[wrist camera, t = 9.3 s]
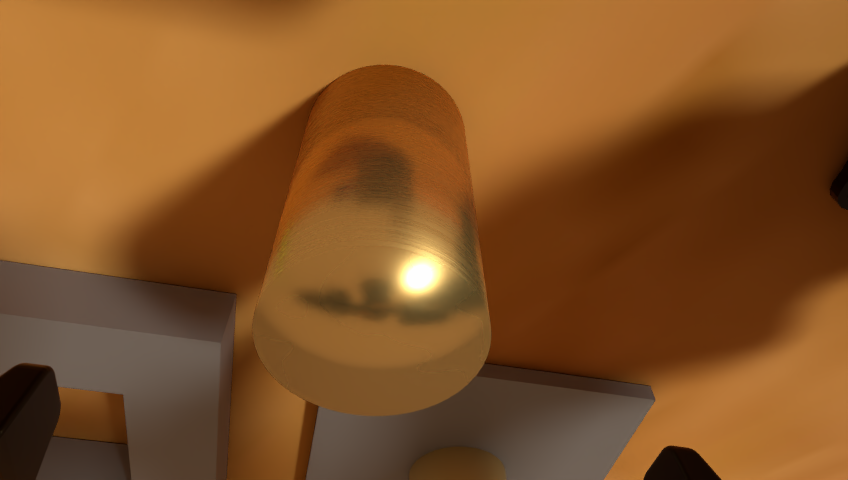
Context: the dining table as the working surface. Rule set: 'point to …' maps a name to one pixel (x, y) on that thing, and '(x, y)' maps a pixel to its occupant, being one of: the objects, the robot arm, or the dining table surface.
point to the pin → (377, 253)
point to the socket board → (127, 367)
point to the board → (488, 432)
